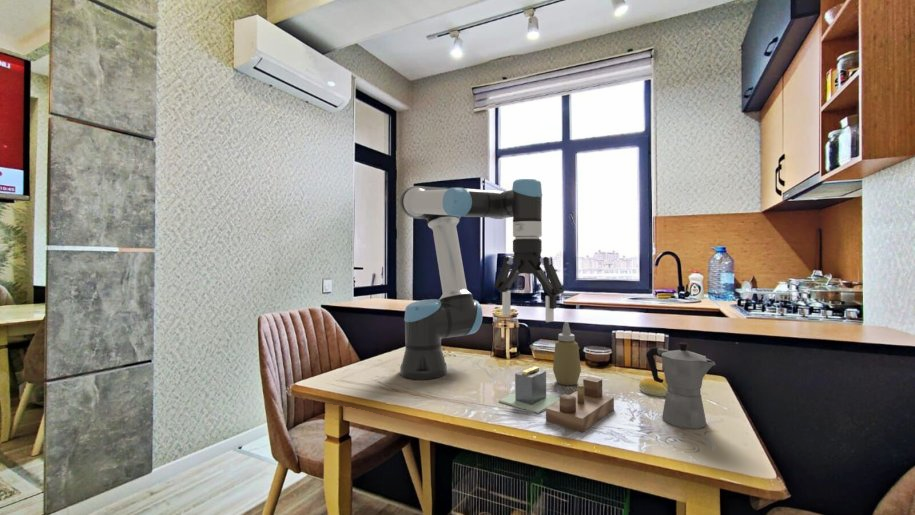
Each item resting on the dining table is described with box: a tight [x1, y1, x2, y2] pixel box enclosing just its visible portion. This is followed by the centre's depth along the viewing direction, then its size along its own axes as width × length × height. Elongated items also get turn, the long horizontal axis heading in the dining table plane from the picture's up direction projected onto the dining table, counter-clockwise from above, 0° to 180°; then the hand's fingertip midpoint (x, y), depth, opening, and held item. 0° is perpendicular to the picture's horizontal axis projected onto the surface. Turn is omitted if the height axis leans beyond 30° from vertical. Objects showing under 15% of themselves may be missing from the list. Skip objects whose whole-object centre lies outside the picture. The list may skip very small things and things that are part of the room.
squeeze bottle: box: [552, 321, 582, 386], centre depth 121 cm, size 8×8×18 cm
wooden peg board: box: [545, 376, 615, 433], centre depth 97 cm, size 17×9×7 cm, turn 137°
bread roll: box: [638, 376, 667, 397], centre depth 113 cm, size 8×9×4 cm
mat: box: [498, 392, 560, 414], centre depth 107 cm, size 12×12×1 cm
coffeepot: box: [645, 341, 716, 430], centre depth 94 cm, size 15×9×18 cm, turn 35°
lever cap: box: [514, 365, 547, 405], centre depth 107 cm, size 5×7×8 cm
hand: (527, 318), depth 109 cm, fingers open, 13 cm apart
